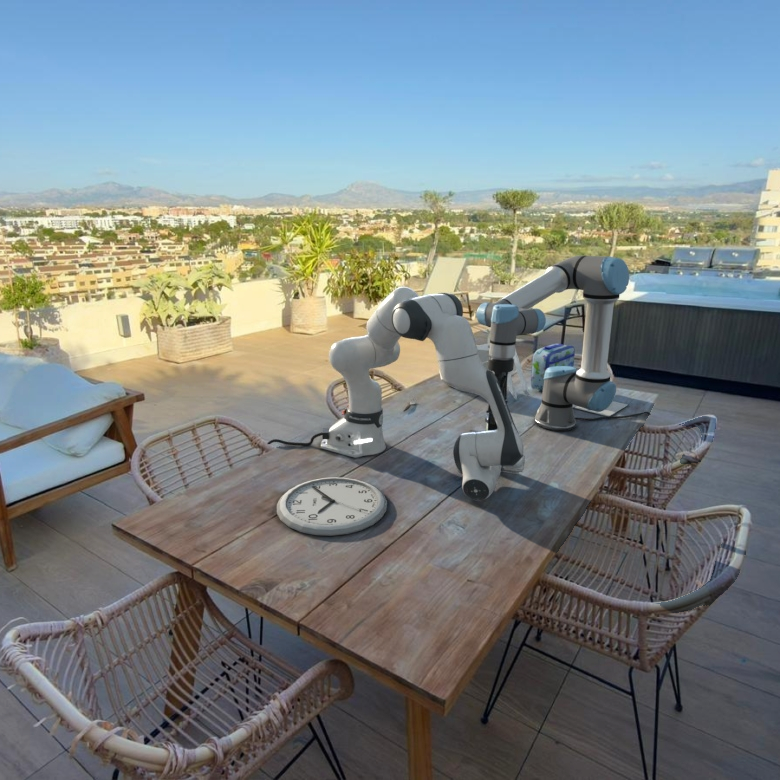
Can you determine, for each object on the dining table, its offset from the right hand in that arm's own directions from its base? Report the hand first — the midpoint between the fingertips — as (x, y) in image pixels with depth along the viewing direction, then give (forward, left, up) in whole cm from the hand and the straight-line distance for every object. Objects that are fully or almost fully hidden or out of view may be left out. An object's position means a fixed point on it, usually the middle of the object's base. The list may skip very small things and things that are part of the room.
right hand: (495, 428), depth 162 cm
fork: (+31, -55, -14) cm, 65 cm away
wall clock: (+45, +30, -14) cm, 56 cm away
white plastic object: (0, -81, -14) cm, 82 cm away
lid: (0, 0, +3) cm, 3 cm away
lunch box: (-34, -94, -14) cm, 101 cm away
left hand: (0, -1, -7) cm, 7 cm away
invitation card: (-51, -69, -14) cm, 87 cm away
